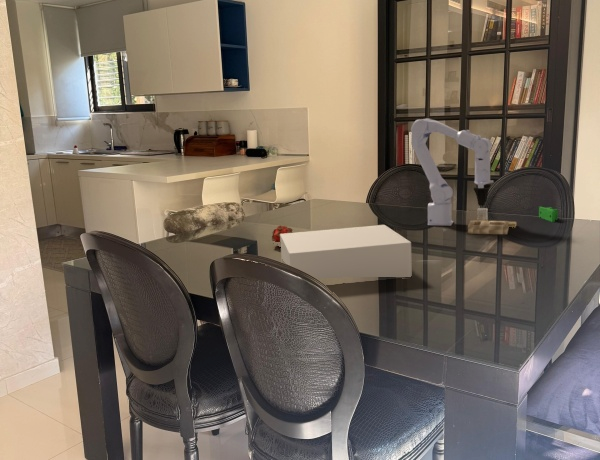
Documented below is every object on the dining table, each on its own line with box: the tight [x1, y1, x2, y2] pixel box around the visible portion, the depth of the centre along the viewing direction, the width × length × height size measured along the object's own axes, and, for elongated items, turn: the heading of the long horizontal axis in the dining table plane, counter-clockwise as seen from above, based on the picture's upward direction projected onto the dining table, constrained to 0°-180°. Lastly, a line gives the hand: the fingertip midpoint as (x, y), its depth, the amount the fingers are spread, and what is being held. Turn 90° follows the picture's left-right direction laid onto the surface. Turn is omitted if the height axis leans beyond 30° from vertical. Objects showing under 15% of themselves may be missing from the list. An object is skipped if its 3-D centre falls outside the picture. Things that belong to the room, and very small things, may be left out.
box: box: [280, 224, 413, 279], centre depth 174 cm, size 28×35×11 cm
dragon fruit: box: [271, 225, 294, 242], centre depth 211 cm, size 8×8×12 cm
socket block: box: [467, 220, 510, 235], centre depth 216 cm, size 14×10×3 cm
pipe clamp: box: [538, 206, 559, 223], centre depth 230 cm, size 11×4×5 cm, turn 4°
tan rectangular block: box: [509, 221, 517, 229], centre depth 221 cm, size 6×4×2 cm, turn 66°
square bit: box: [476, 207, 488, 221], centre depth 225 cm, size 4×4×7 cm
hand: (482, 203), depth 223 cm, fingers open, 7 cm apart
